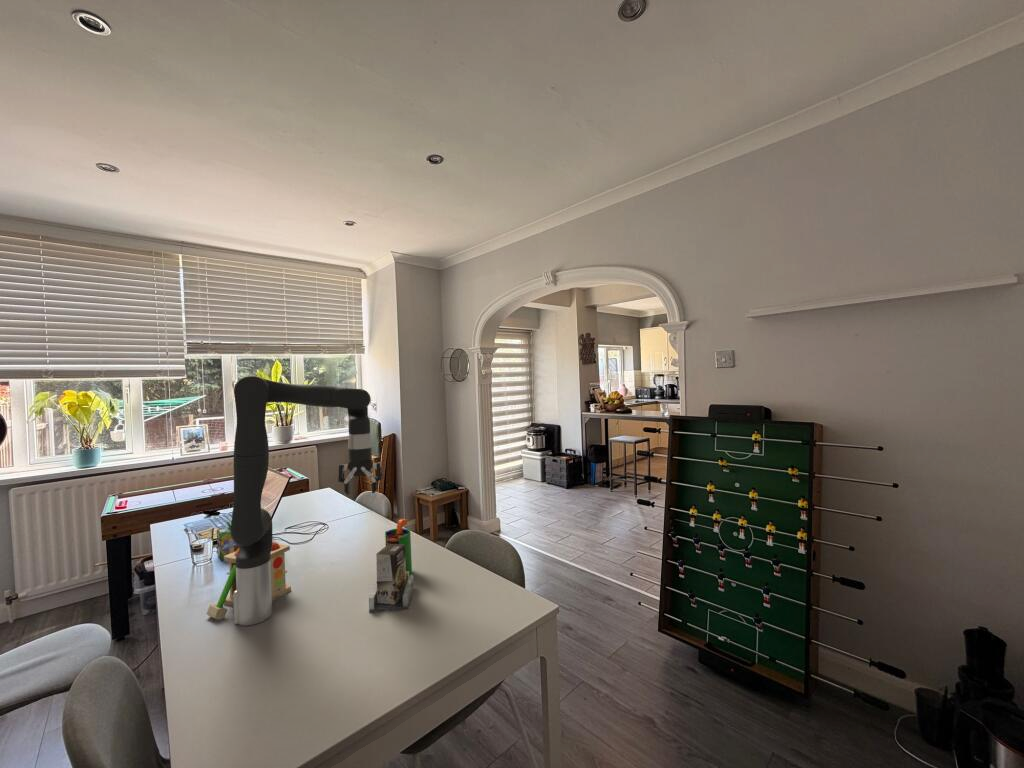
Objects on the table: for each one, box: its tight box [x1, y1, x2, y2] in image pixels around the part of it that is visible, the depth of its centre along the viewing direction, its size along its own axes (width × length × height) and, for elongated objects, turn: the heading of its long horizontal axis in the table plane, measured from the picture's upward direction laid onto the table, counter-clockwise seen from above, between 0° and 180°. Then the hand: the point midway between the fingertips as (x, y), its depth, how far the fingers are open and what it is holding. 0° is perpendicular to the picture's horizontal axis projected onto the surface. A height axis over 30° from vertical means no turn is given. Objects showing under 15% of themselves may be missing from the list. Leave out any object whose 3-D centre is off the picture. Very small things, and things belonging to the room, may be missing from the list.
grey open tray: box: [368, 571, 415, 613], centre depth 140 cm, size 12×14×6 cm
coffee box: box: [376, 544, 406, 604], centre depth 139 cm, size 9×6×16 cm
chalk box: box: [216, 520, 240, 562], centre depth 180 cm, size 9×9×15 cm
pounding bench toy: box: [206, 541, 292, 621], centre depth 140 cm, size 23×14×18 cm, turn 159°
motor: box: [384, 518, 413, 575], centre depth 159 cm, size 10×9×20 cm
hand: (361, 493), depth 145 cm, fingers open, 8 cm apart
